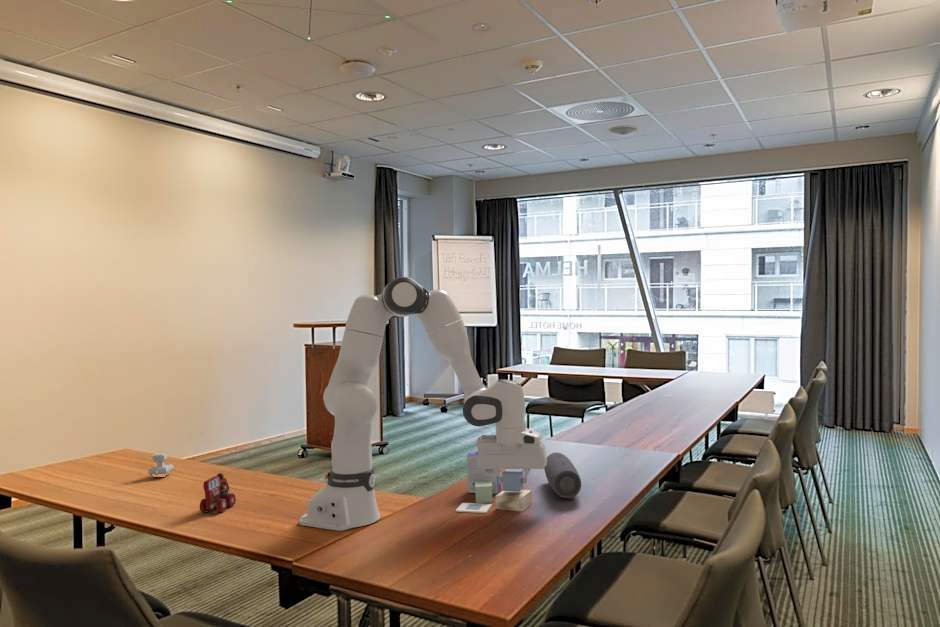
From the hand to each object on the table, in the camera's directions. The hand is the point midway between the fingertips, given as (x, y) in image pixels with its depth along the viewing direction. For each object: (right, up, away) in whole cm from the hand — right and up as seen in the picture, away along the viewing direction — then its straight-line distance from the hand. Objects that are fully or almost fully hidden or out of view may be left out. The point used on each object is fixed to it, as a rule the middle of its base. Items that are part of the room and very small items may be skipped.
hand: (512, 482), depth 188 cm
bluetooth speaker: (+16, -6, +12) cm, 21 cm away
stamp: (-127, -12, +52) cm, 138 cm away
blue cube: (0, -2, 0) cm, 2 cm away
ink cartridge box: (-8, -7, +16) cm, 19 cm away
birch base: (0, -7, 0) cm, 7 cm away
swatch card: (-11, -7, -1) cm, 13 cm away
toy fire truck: (-89, -11, +10) cm, 90 cm away
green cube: (-8, -7, +7) cm, 13 cm away
